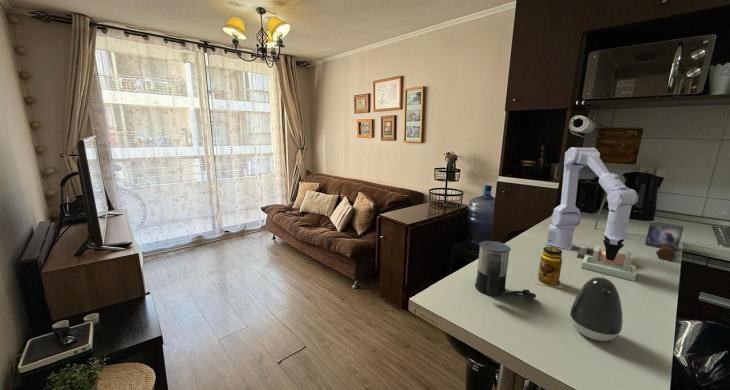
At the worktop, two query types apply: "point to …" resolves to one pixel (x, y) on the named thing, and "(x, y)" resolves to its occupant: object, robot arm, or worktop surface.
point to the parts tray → (609, 269)
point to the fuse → (619, 259)
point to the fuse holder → (585, 250)
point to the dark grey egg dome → (598, 310)
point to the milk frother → (495, 270)
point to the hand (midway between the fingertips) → (610, 257)
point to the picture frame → (663, 234)
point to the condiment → (550, 267)
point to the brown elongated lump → (666, 252)
